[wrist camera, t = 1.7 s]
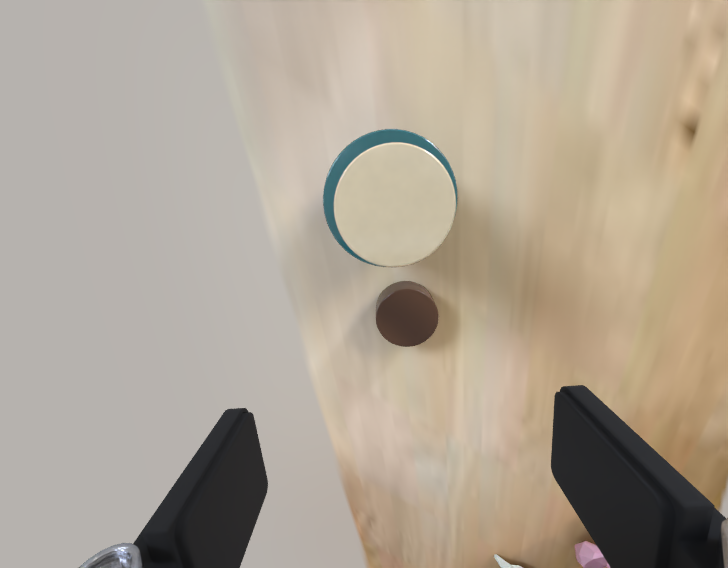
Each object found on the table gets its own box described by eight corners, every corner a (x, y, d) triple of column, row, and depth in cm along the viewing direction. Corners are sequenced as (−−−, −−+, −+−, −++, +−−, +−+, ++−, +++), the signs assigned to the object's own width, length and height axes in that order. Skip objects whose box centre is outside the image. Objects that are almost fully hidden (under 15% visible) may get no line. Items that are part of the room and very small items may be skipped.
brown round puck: (404, 269, 29) (406, 276, 27) (446, 307, 30) (451, 317, 28) (364, 310, 30) (363, 320, 28) (405, 345, 31) (407, 358, 29)
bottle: (383, 128, 26) (390, 58, 12) (448, 192, 27) (527, 201, 13) (323, 199, 28) (266, 214, 13) (387, 257, 29) (397, 328, 14)
